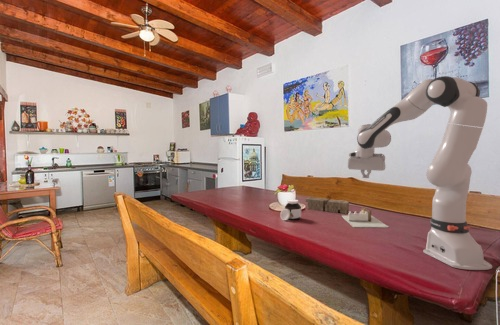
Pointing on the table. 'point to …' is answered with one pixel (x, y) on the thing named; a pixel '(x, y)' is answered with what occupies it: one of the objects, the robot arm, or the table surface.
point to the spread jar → (291, 210)
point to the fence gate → (358, 216)
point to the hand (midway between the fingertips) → (365, 177)
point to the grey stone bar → (328, 205)
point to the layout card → (366, 223)
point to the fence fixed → (368, 213)
